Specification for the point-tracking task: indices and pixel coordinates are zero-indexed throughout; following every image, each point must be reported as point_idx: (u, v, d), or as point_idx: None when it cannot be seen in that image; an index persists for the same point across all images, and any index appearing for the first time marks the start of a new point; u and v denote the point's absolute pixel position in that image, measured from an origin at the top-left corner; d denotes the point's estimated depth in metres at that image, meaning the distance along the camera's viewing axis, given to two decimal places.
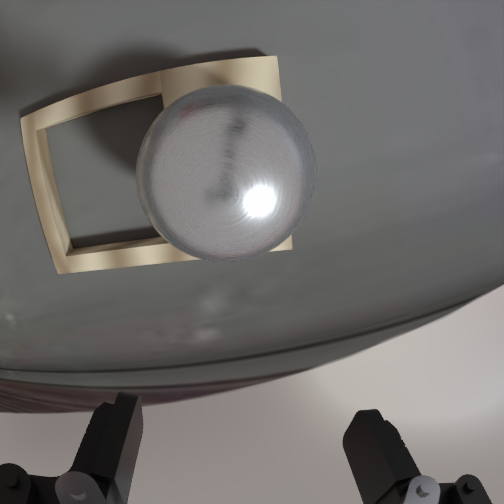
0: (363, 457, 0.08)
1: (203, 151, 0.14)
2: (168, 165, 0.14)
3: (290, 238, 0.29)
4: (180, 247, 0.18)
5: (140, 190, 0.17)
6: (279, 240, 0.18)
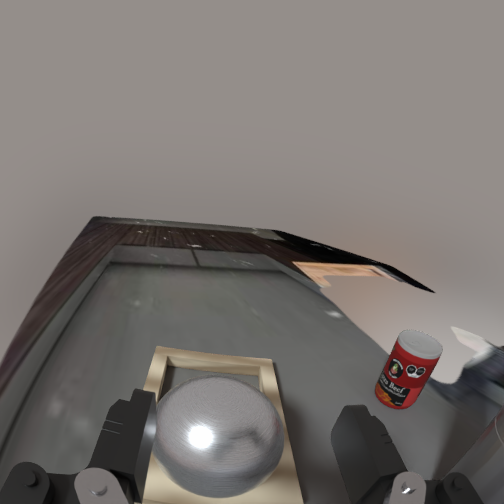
0: (349, 452, 0.09)
1: (249, 394, 0.22)
2: (241, 381, 0.24)
3: None
4: (181, 382, 0.24)
5: None
6: (170, 432, 0.19)
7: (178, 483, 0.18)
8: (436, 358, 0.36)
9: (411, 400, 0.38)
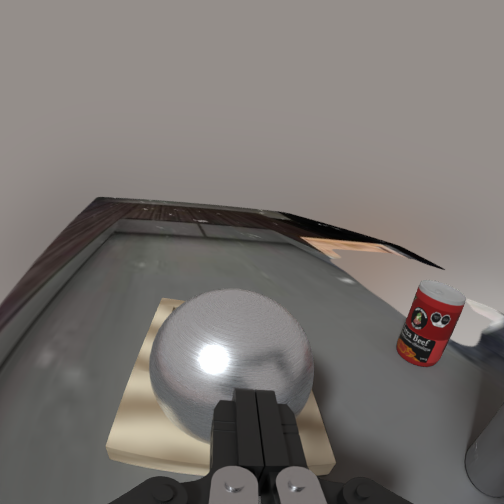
0: None
1: (273, 302, 0.20)
2: None
3: (119, 448, 0.17)
4: None
5: None
6: (176, 345, 0.17)
7: (183, 422, 0.16)
8: (460, 305, 0.33)
9: (436, 355, 0.36)
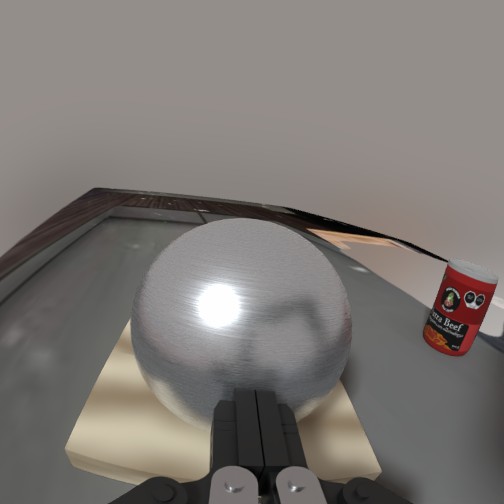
0: None
1: None
2: None
3: (83, 453, 0.11)
4: None
5: None
6: (171, 258, 0.13)
7: (173, 376, 0.11)
8: (494, 284, 0.27)
9: (468, 343, 0.30)
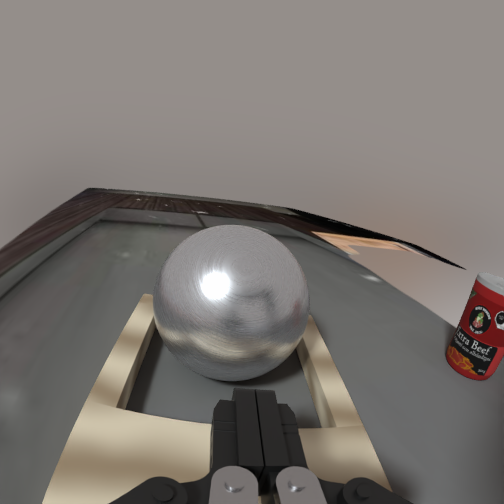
0: None
1: None
2: None
3: None
4: None
5: None
6: None
7: None
8: None
9: (495, 366, 0.24)
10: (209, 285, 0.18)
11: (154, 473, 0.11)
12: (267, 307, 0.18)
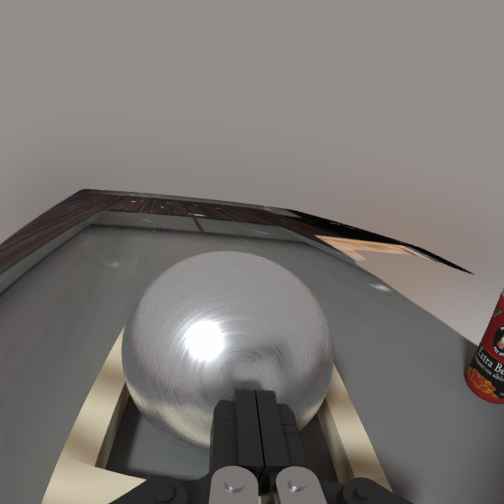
0: None
1: None
2: None
3: None
4: None
5: None
6: None
7: (181, 261, 0.17)
8: None
9: None
10: (186, 401, 0.11)
11: None
12: None
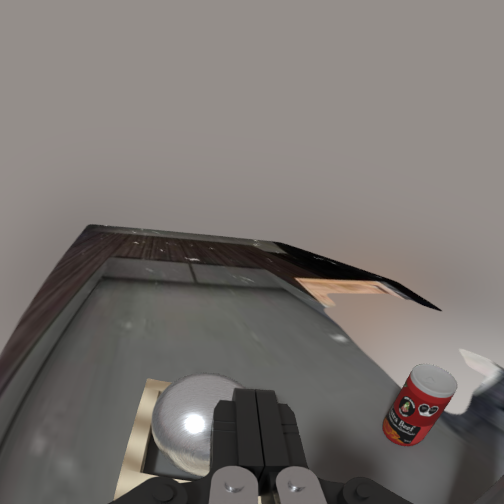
0: None
1: None
2: None
3: None
4: None
5: None
6: None
7: (181, 385, 0.27)
8: (450, 396, 0.30)
9: (420, 437, 0.32)
10: (186, 463, 0.22)
11: None
12: None
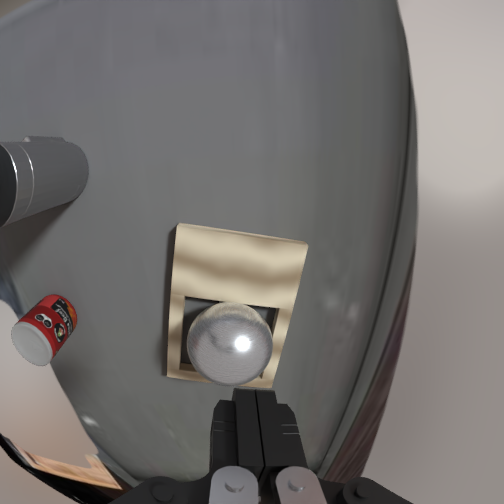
0: None
1: None
2: None
3: (300, 245, 0.42)
4: None
5: None
6: None
7: (253, 368, 0.36)
8: (22, 321, 0.33)
9: (50, 298, 0.41)
10: (249, 309, 0.40)
11: (264, 279, 0.43)
12: (223, 303, 0.41)
